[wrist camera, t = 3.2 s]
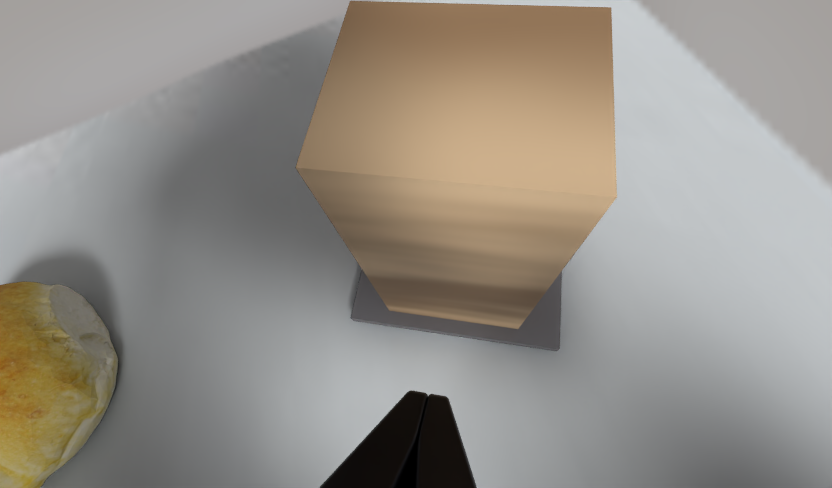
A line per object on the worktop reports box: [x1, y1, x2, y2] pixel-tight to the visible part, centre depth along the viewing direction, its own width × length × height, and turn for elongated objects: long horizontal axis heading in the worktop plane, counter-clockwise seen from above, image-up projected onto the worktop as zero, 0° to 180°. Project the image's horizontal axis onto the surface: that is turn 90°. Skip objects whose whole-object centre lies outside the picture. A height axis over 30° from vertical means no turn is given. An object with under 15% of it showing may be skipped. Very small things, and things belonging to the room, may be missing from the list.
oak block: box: [295, 1, 617, 329], centre depth 11 cm, size 4×5×10 cm
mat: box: [351, 270, 562, 351], centre depth 18 cm, size 14×8×1 cm, turn 172°
